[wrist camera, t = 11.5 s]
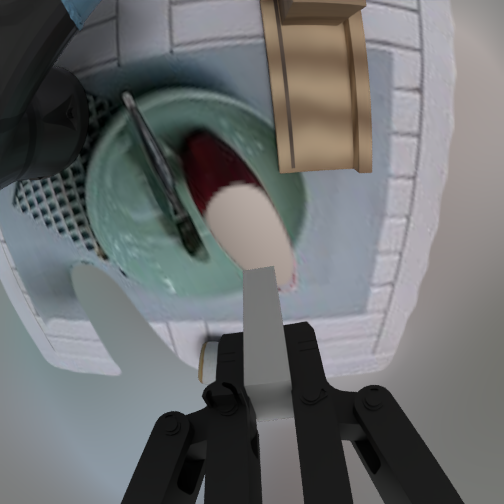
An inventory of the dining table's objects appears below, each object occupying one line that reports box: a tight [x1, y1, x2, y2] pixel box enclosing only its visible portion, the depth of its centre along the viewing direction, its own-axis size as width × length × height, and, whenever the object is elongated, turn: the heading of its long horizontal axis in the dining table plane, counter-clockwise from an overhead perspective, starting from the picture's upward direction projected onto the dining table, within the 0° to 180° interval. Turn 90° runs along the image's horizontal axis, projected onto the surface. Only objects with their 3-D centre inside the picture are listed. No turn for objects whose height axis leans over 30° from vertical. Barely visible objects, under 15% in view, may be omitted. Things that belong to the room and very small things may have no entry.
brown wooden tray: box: [260, 0, 372, 174], centre depth 26 cm, size 24×10×4 cm, turn 6°
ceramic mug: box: [198, 341, 219, 385], centre depth 46 cm, size 11×8×8 cm
